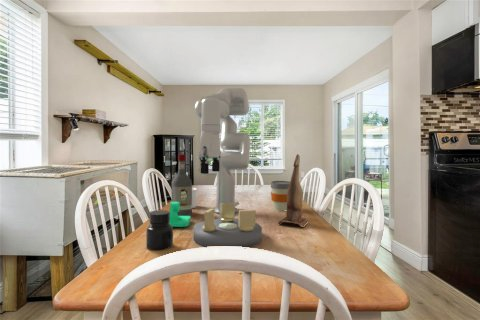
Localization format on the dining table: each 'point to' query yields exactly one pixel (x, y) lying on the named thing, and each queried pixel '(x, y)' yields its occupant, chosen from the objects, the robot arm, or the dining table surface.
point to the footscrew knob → (227, 212)
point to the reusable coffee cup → (279, 194)
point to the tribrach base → (228, 230)
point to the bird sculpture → (294, 198)
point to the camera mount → (174, 218)
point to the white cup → (194, 197)
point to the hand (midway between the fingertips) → (210, 172)
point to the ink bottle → (159, 231)
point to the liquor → (182, 188)
